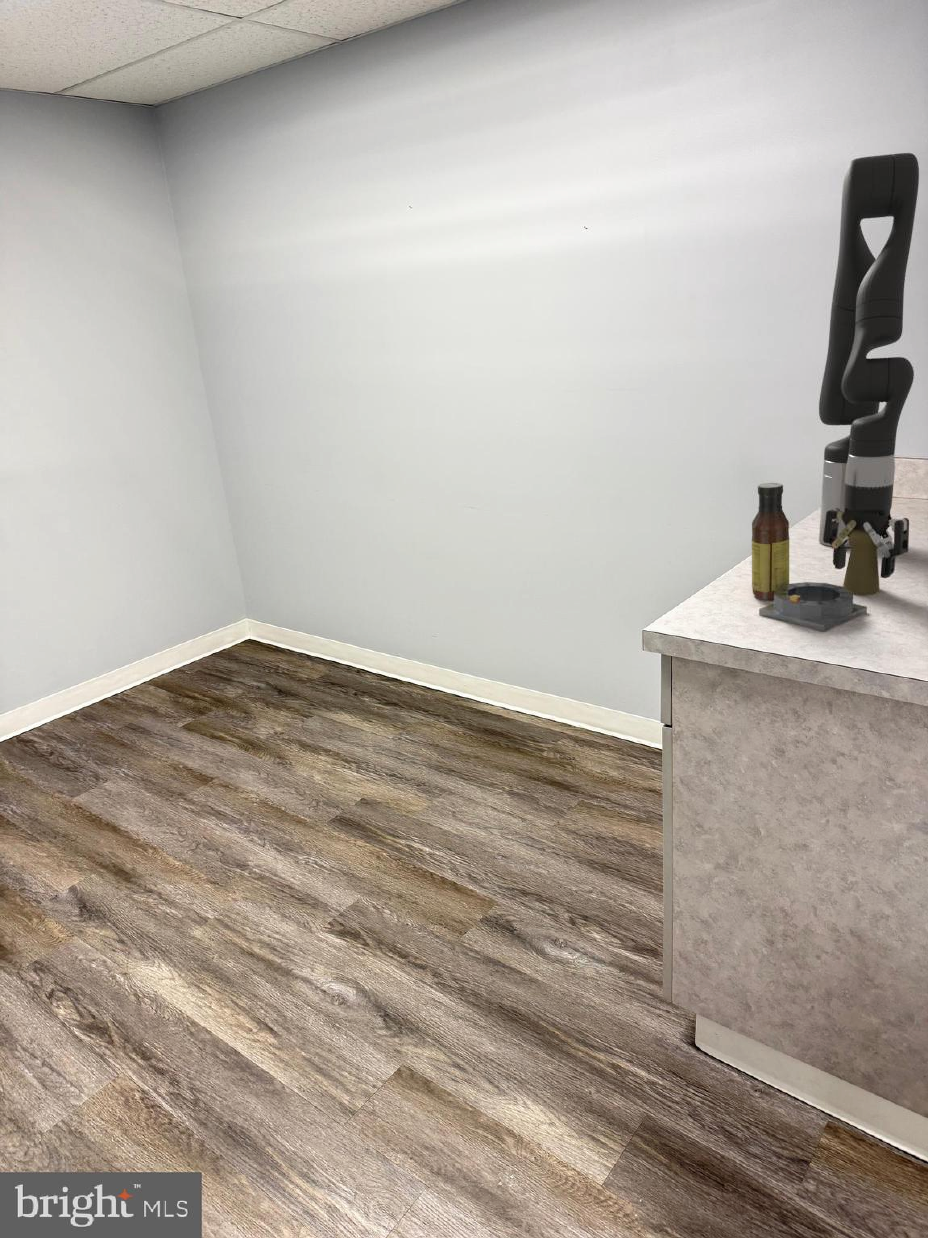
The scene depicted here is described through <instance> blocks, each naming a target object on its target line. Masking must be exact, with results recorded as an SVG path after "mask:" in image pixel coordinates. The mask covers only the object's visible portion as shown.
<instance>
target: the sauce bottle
mask: <svg viewBox="0 0 928 1238" xmlns="http://www.w3.org/2000/svg"><path fill="white" fill-rule="evenodd" d="M757 493H758V511H757V514H756V515H755V517H754V518H753V519H752V522H751V532H752V533H751V534H752V536H751V587H752V594H753V596H754V597H755V598H757V599H759V600H767V601H774V593H775V590H776V588H779V587H781V586H784V585H786V584H790V527H789V526H790V522H789V520H788V518H787V517H786V514H785V512H784V510H783V505H782V503H783V501H782V500H783V493H784V484H782V483H780V482H764V483H760V484H759V485H757Z"/></svg>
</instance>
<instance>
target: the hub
mask: <svg viewBox="0 0 928 1238" xmlns="http://www.w3.org/2000/svg"><path fill="white" fill-rule="evenodd" d="M854 595H855V594H854V593H853V592H852V591H850V590H848V589H846V588H845V587H843V585H842V586H840V585H836V584H831V583H828V582H827V583H826V582H811V581H804V582H796V583H795V582H794V583H789V584H786V585H784V586H781V587H779V588H776V590H775V593H774V600H773V602H772V603H771V604H768V605H766V606H763V607H761V608H759V610H758V611H759V612H758V615H759V616H763V617H767V618H771V619H774V620H777V621H782V622H784V623H785V622H786V623H789V624H793V625H796V626H801V627H805V628H809V629H811V630H816V631H820V632H823V633H825V632H826V631H829V630H831V629H833V628H836V627H838V626H840V625H843V624H844V623H847V622H849V621H852V620H853V619H855V618H857V617H860V616H863V615H864V614H868V613H867V612H868V606H865V605H862V604H861V605H860V604H857V603H854Z"/></svg>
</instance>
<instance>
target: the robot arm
mask: <svg viewBox="0 0 928 1238" xmlns="http://www.w3.org/2000/svg"><path fill="white" fill-rule="evenodd" d="M919 182H920V167H919V162H918V159H917V156H916V155H914V153H911V152H901V153H891V154H881V155H873V156H864V157H858V158H854V159H852V160H851V161H850V162H849V163H848V165H847V167H846V170H845V173H844V179H843V182H842V192H841V195H842V196H841V207H840V208H841V209H840V213H841V214H840V232H839V244H838V245H839V249H838V258H837V264H836V265H837V266H836V271H835V272H836V273H835V279H834V286H833V292H832V300H831V301H832V302H831V309H830V321H829V335H828V348H827V354H826V355H827V356H826V361H825V365H824V366H825V367H824V373H823V375H822V376H823V377H822V382H821V383H822V384H821V387H820V394H819V401H818V414H819V415H818V416H819V419H820V421H821V423H822V424H824V425H826V426H850V431H849V435H847V436H846V437H843V438H840V439H838V440H835V441H833V442H830V443H828V444H826V446H825V447H824V453H823V454H824V455H823V468H822V469H823V470H822V487H821V504H820V518H819V519H820V520H819V534H818V535H819V537H818V542H819V543H820V544H822V545H824V546H829V547H832V548H833V553H832V564H833V566H834V569H836V570H841V569H844V568H845V567H846V565H847V564H846V562H847V548H851V546H850V544H849V534H850V533H851V532H852V531H853V530H863V531H866V532H867V533H868V534H869V535H870V537H871V539H872V540H873V542H874V544H875V545H876V546H877V548H878V550H880V553H881V554H882V557H881V565H880V566H881V567H880V568H881V569H880V578H883V579H887V578H890V577H891V576H892V575H893V574H894V572H895V567H896V559H897V557H899V556H900V555H901V556H902V555H904V554H906V553H908V552H909V542H910V541H909V540H910V539H909V538H910V535H909V534H910V519H909V518H907V517H904V518H901V519H898V518H892V516H891V509H892V506H893V497H894V496H893V494H894V484H895V483H894V482H895V473H896V461H895V457H896V456H895V455H896V453H895V451H896V442H897V441H896V440H897V431H898V426H899V421H900V418H901V414H902V411H903V408H904V406H905V403H906V401H907V399H908V397H909V393H910V391H911V389H912V387H913V383H914V379H915V370H914V367H913V365H912V363H911V361H910V360H909V359H907V358H905V357H903V356H893V357H892V356H891V357H875V358H873V357H872V358H867V356H868V354H869V353H870V352H871V351H873V350H875V349H878V348H882V347H885V346H889V345H891V344H892V345H893V344H894V343H897V342H898V341H899V340H900V338H901V337H902V335H903V327H904V325H903V324H904V296H905V293H904V292H905V283H906V275H907V267H908V261H909V257H910V256H909V255H910V250H911V244H912V239H913V238H912V235H913V231H914V222H915V216H916V211H917V209H916V208H917V201H918V194H919V184H920V183H919ZM886 217H888V218H890V217H893V221H892V226H891V229H890V234H889V236H888V238H887V239H886V242H885V243H884V246H883V248H882V249H881V251H880V252H879V254H878V255H877V257H875V256H874V255H873V252H872V251H871V249H870V247H869V246H868V243H867V241H866V239H865V236H864V233H863V230H862V225H861V224H862V223H861V222H862V220H865V219H868V220H869V219H877V218H878V219H879V218H886ZM880 403H885V405H884V407H883V408H882V409H881V411H879V410H880ZM890 527H891V531H892V532H893V536H892V535H891V534H890V532H889V530H888V529H889V528H890Z"/></svg>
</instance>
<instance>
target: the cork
mask: <svg viewBox="0 0 928 1238" xmlns="http://www.w3.org/2000/svg"><path fill="white" fill-rule="evenodd" d="M849 544H850V546H851V547H850V551H849V556H848V560H847V564H846V565H847V566H846V571H845V576H844V579H843V580H844V581H843V584H842V587H845V588H846V589H848V590H850V591H852V592H853V593H854V594H853V595H859V596H861V595H862V596H868V595H869V596H871V595H876V594H878V593H880V591H881V590H880V589H881V588H880V574H879V562H878V561H879V560H878V559H879V558H878V547H877V546H876V545H875V544H874V542H873V540H872V539H871V537H870V535H869V534H868V533H867V532H866V531H863V530H853V531H852V532H851V533H850V534H849ZM879 590H880V591H879ZM877 592H878V593H877ZM875 593H876V594H875Z"/></svg>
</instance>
